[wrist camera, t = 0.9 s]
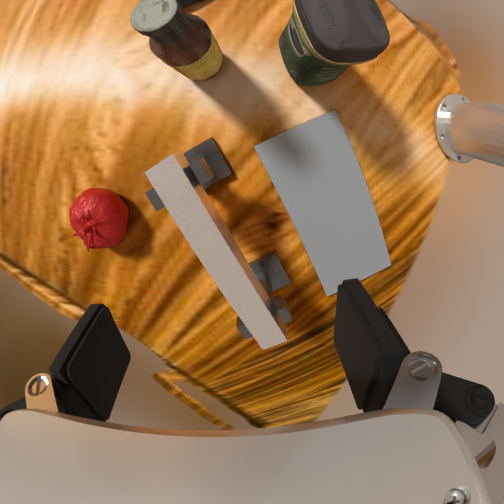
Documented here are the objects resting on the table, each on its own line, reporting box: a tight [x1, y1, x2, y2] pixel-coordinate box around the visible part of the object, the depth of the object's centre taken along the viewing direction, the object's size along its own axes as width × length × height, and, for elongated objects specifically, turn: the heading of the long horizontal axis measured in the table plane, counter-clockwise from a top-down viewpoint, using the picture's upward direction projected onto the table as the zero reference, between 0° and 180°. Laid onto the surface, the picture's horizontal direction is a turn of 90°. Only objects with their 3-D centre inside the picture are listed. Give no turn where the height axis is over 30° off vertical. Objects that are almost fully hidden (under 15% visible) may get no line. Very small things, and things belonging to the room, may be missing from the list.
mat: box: [254, 110, 391, 296], centre depth 41 cm, size 13×28×1 cm, turn 28°
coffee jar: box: [279, 0, 390, 86], centre depth 23 cm, size 10×8×19 cm
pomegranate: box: [70, 188, 129, 252], centre depth 37 cm, size 10×10×9 cm
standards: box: [145, 138, 293, 339], centre depth 36 cm, size 8×26×12 cm, turn 28°
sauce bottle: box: [131, 0, 223, 81], centre depth 22 cm, size 6×6×20 cm
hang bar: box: [145, 151, 287, 350], centre depth 31 cm, size 4×26×4 cm, turn 28°
